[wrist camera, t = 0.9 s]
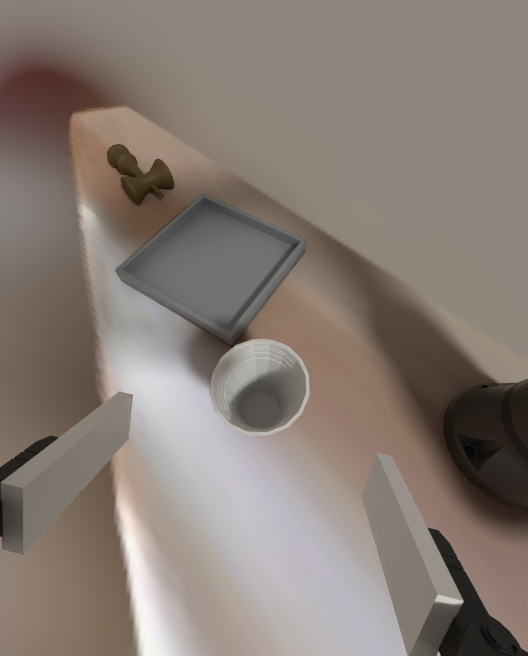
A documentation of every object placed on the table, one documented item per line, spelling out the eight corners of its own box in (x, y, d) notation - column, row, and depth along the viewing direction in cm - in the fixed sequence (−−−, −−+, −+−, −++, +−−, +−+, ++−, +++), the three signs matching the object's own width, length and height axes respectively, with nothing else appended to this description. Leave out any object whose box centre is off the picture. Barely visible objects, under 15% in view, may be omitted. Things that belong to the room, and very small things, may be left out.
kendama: (141, 159, 72) (187, 198, 64) (104, 176, 69) (148, 219, 61) (130, 133, 67) (179, 172, 59) (91, 150, 64) (136, 194, 56)
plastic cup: (218, 379, 44) (205, 343, 34) (289, 369, 45) (298, 331, 35) (224, 457, 39) (211, 444, 28) (305, 444, 40) (321, 426, 29)
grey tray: (304, 251, 57) (306, 240, 54) (232, 346, 47) (230, 338, 44) (205, 206, 63) (203, 193, 60) (122, 281, 53) (115, 270, 50)
